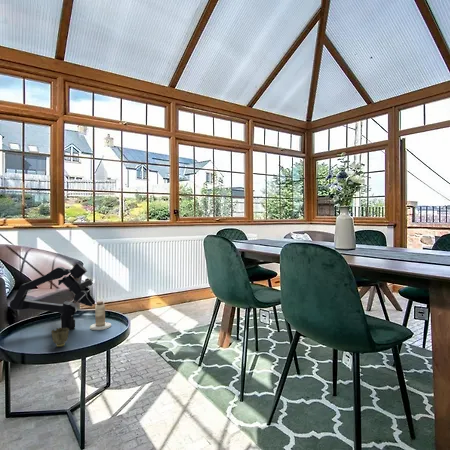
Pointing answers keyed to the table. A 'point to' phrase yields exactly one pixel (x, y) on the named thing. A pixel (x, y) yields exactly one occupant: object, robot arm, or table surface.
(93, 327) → the plate
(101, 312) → the pepper mill
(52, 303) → the robot arm
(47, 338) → the table surface
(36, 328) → the table surface
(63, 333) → the cup
